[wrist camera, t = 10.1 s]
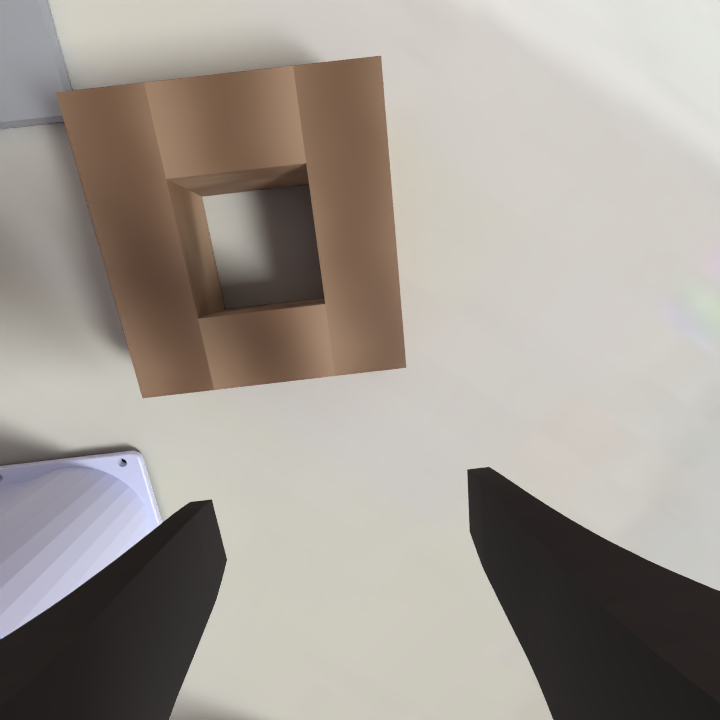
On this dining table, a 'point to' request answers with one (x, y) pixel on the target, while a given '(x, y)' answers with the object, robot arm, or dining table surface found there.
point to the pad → (30, 65)
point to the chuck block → (230, 175)
